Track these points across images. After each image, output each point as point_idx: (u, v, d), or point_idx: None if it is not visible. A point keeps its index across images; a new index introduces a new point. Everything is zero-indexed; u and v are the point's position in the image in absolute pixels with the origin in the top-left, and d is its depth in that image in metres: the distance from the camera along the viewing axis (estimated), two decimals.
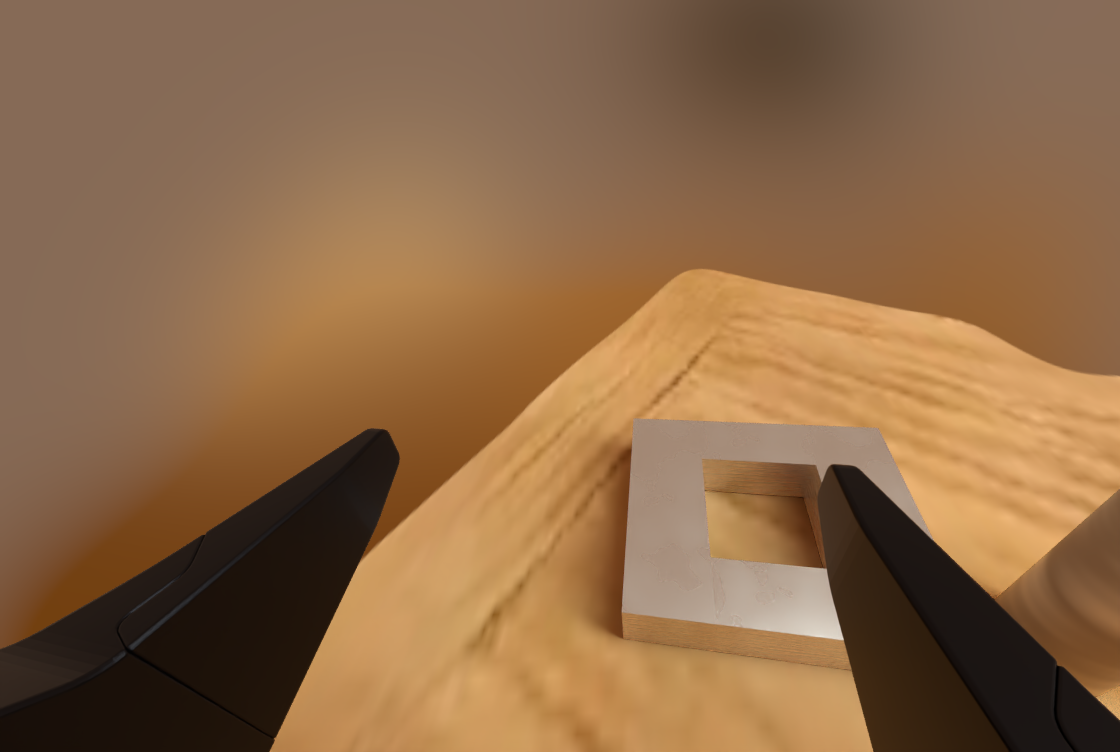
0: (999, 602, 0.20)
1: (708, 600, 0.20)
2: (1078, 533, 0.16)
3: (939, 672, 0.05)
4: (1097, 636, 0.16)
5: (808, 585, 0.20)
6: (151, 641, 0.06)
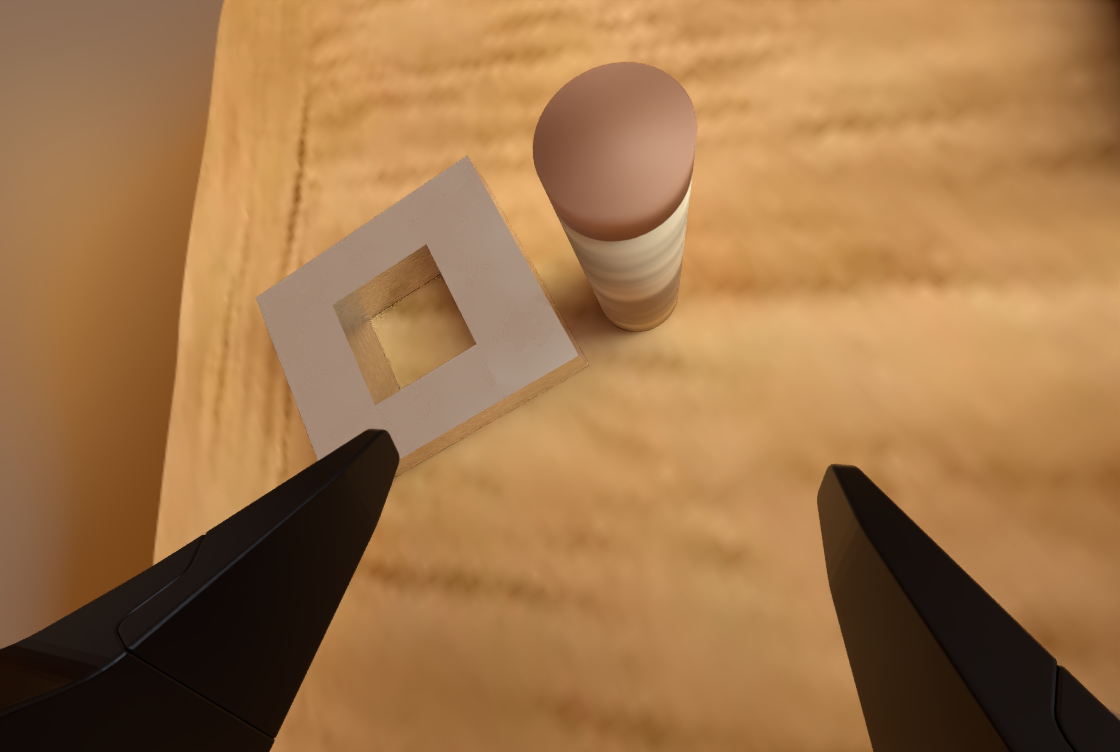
0: None
1: None
2: None
3: (939, 672, 0.05)
4: (621, 304, 0.18)
5: (450, 379, 0.21)
6: (151, 641, 0.06)
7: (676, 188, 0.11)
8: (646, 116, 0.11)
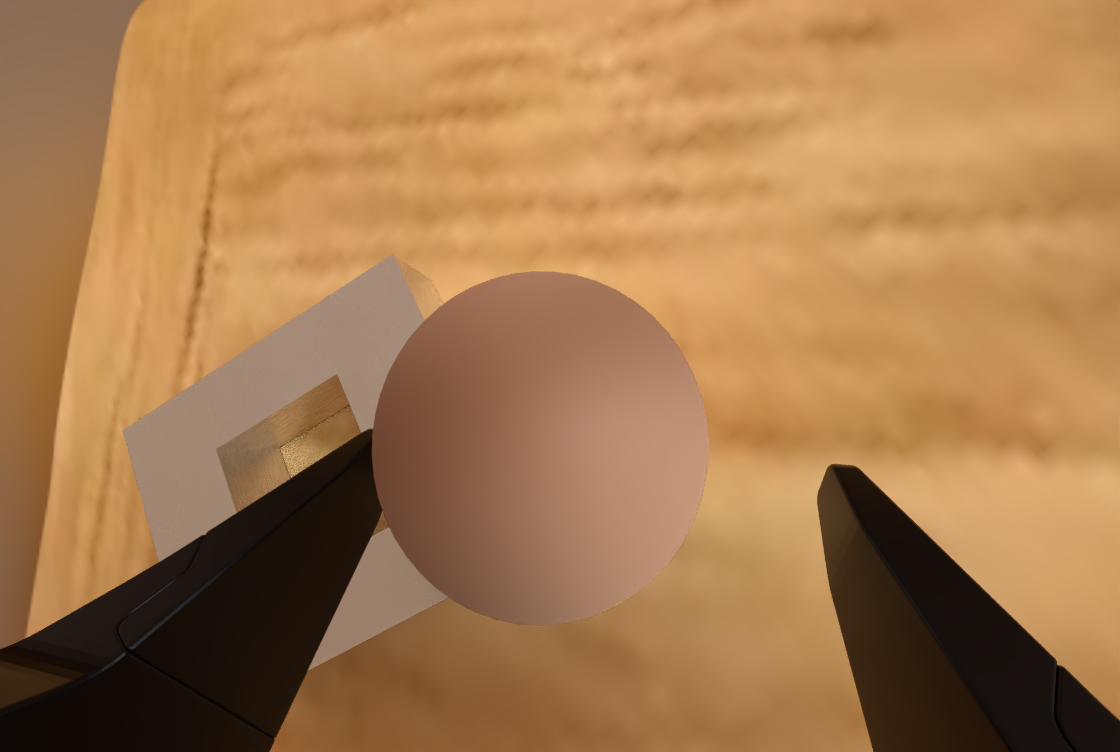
0: None
1: None
2: None
3: (939, 672, 0.05)
4: None
5: (362, 570, 0.16)
6: (151, 641, 0.06)
7: (664, 558, 0.05)
8: (599, 402, 0.05)
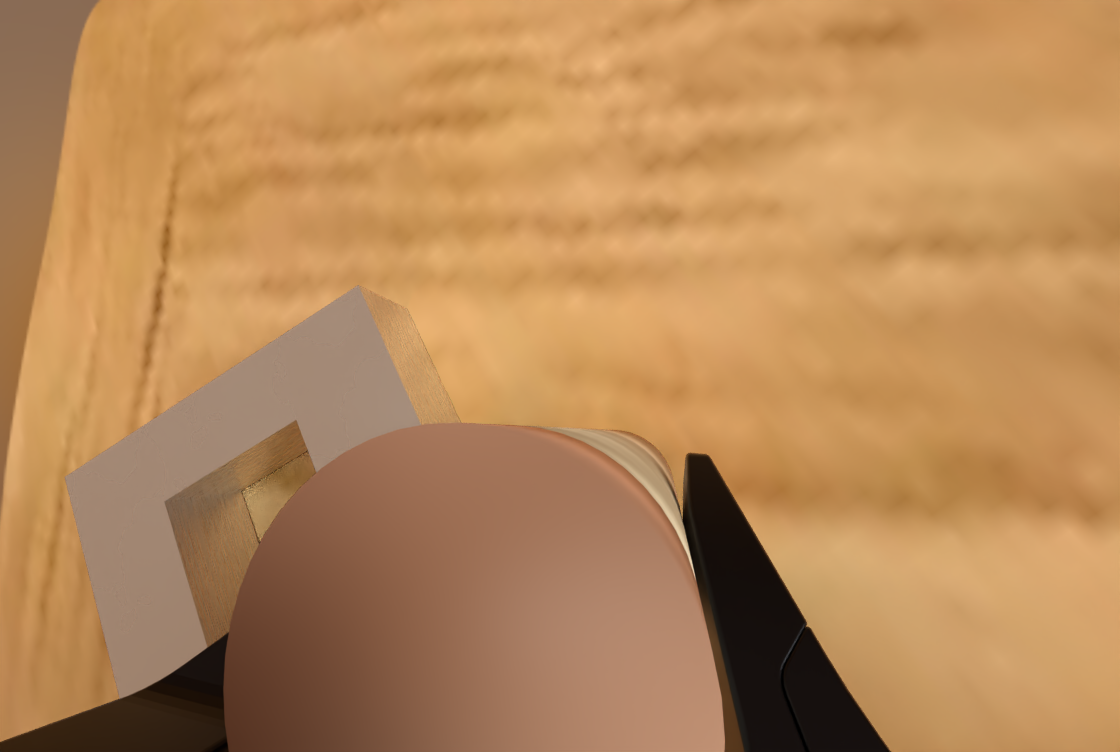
0: None
1: None
2: None
3: (712, 635, 0.06)
4: None
5: None
6: None
7: None
8: (551, 644, 0.03)
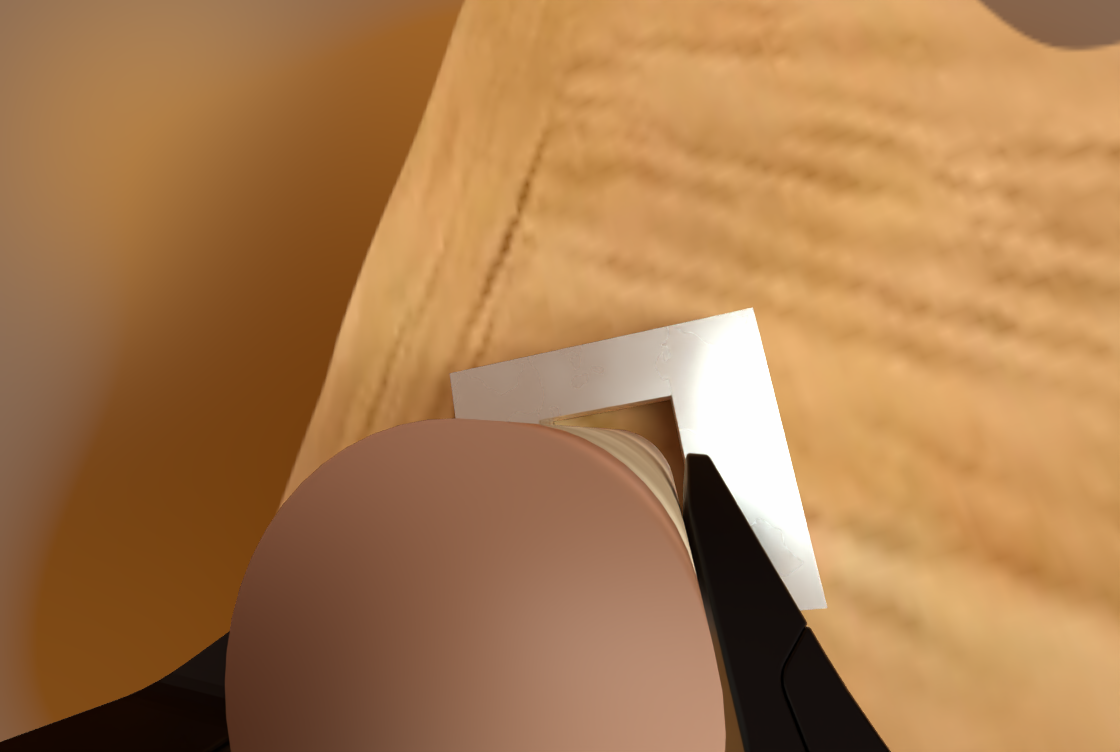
0: None
1: None
2: None
3: (712, 635, 0.06)
4: None
5: None
6: None
7: None
8: (552, 639, 0.03)
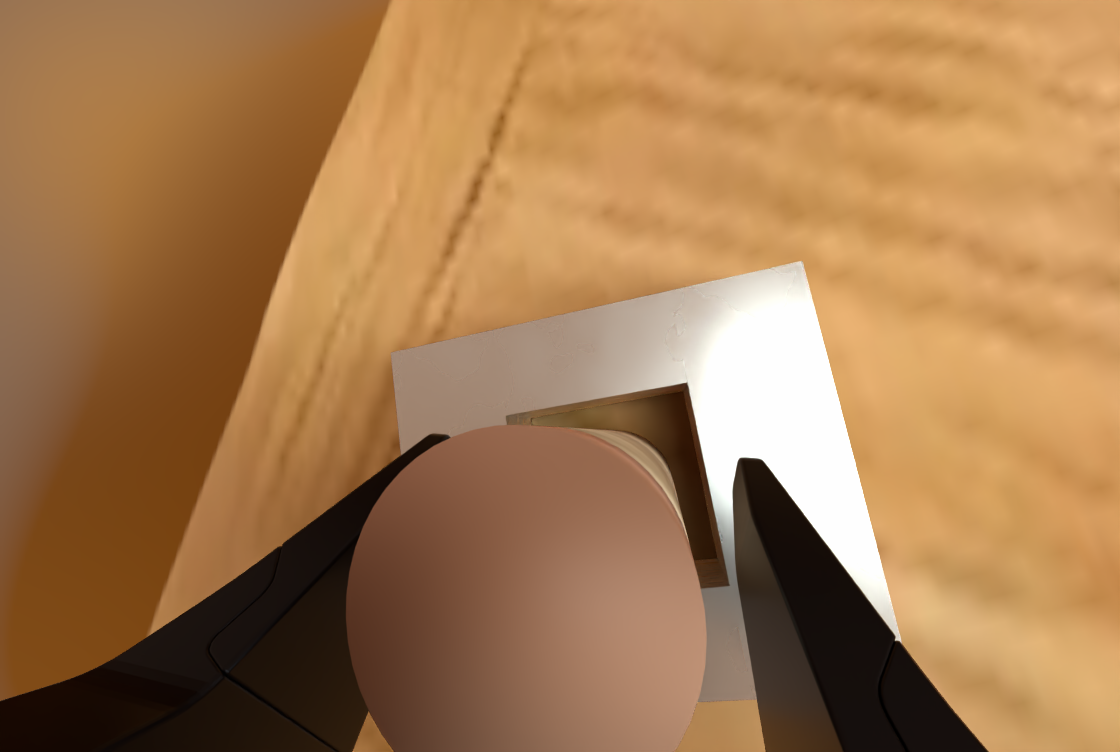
0: None
1: None
2: None
3: (793, 648, 0.05)
4: None
5: None
6: (245, 663, 0.06)
7: (658, 746, 0.05)
8: (588, 578, 0.05)
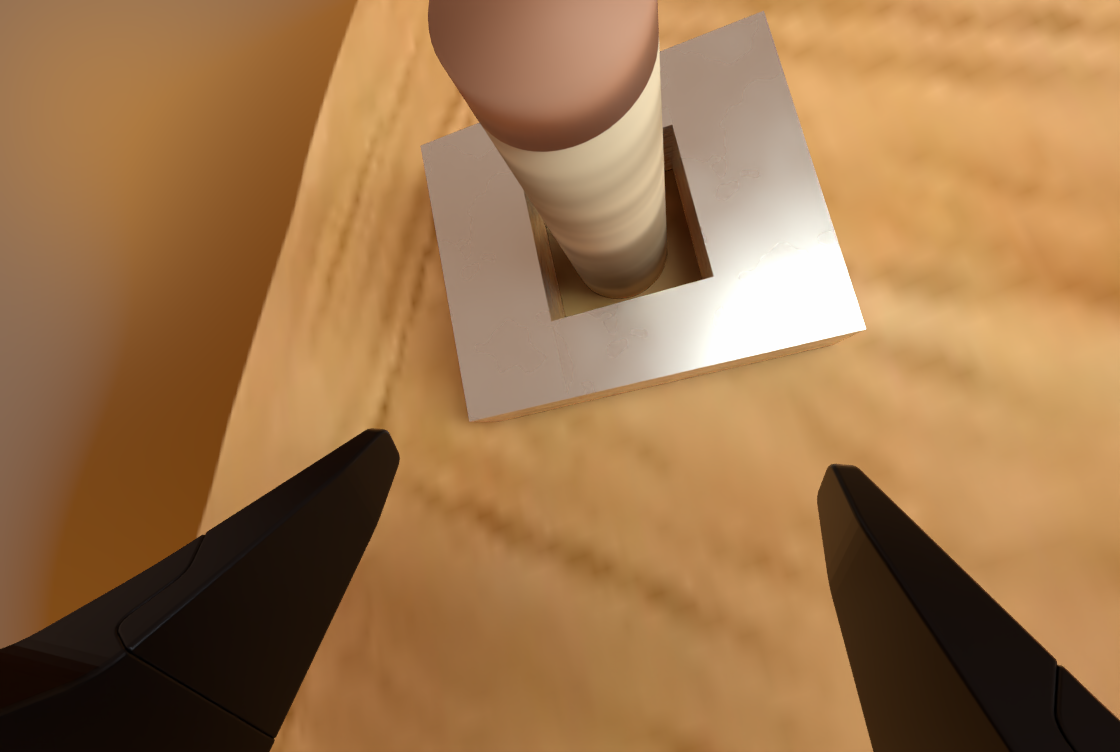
0: None
1: (556, 374, 0.17)
2: None
3: (939, 672, 0.05)
4: (593, 260, 0.15)
5: (664, 314, 0.16)
6: (151, 641, 0.06)
7: (631, 52, 0.07)
8: None
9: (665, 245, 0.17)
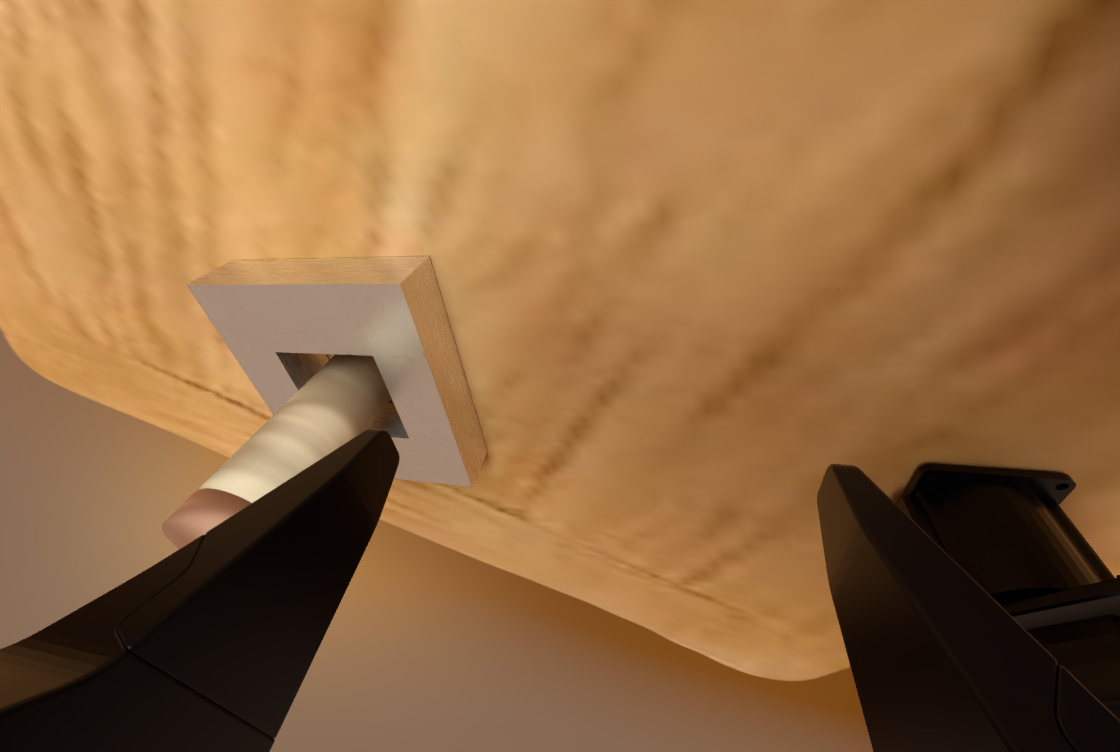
0: None
1: (441, 444, 0.26)
2: None
3: (939, 672, 0.05)
4: (362, 431, 0.24)
5: (400, 385, 0.24)
6: (151, 641, 0.06)
7: None
8: (192, 536, 0.18)
9: (360, 357, 0.25)
